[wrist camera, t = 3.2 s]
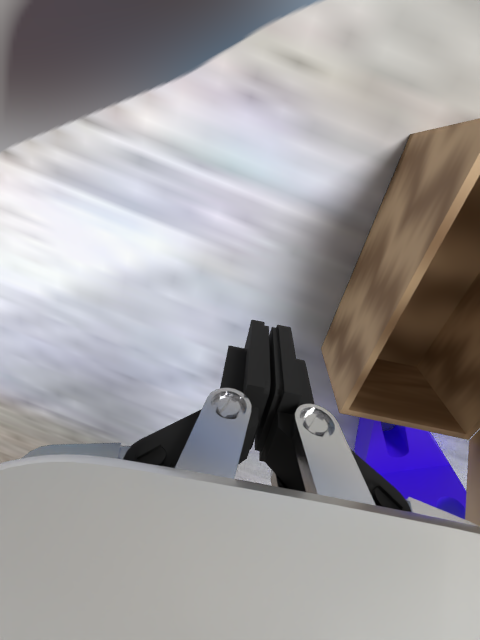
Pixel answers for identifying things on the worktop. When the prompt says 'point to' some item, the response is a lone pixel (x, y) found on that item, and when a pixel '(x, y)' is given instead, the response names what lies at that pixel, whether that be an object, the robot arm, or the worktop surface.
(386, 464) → the bracket
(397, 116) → the worktop surface
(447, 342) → the open wooden box
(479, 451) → the lid flap
